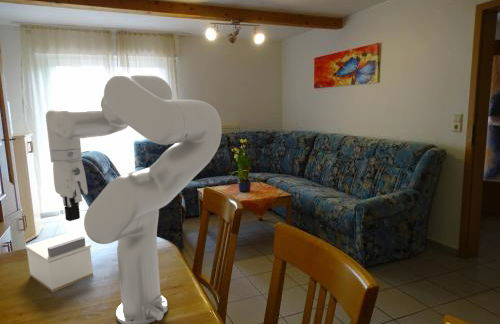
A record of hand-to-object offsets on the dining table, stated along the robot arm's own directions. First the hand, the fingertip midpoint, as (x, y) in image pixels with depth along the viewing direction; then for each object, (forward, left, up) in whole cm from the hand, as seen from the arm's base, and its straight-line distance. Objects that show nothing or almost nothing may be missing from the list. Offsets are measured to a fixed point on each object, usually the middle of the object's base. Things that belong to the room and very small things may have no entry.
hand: (73, 219), depth 95 cm
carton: (+13, 0, -21) cm, 25 cm away
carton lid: (+13, 0, -12) cm, 17 cm away
